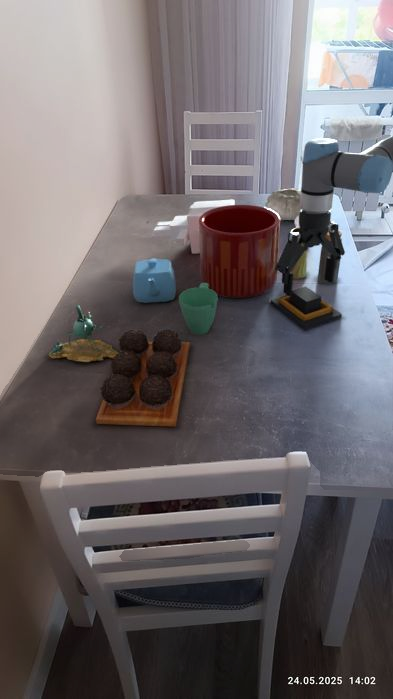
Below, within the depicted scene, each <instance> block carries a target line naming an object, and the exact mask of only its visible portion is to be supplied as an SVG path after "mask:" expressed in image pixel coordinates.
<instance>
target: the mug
mask: <svg viewBox="0 0 393 699" xmlns="http://www.w3.org/2000/svg"><path fill="white" fill-rule="evenodd" d="M218 296H219V295H217V294H216V292H215V291H213V290H211V289H210V287H209V284H207V283H202V282H201V283H200V284H199V287H191V288H188V289H186V290H185V289H184V290H183V291H182V292H181V293H180V294H179V295H178V303H179V306H180V309H181V313H182V315H183V318H184V321H185V323H186V325H187V327H188V329H189V331H190V333H192V334H193V335H196V336H202V335H205V334H207V333H208V332H209V331H210V329H211V326H212V323H213V321H214V318H215V314H216V311H217V305H218V301H219V299H218Z"/></svg>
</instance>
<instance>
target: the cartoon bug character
mask: <svg viewBox="0 0 393 699" xmlns="http://www.w3.org/2000/svg"><path fill="white" fill-rule="evenodd" d="M75 310H76V312H77V314H78V317H77V318H76V320H75V321H74V323H73V332H72V331H69V332H67V333H66V334H65V335H66V336H68V342H64V343H62V342H59V340H58V339H56V344H55V343H54V344H53V347H52V349H50V352H49V354H48V356H49V358H51V359H62V358H63V359H64V358H66V359H67V360H71V361H74V362H75V361H76V362H81V363H82V362H83V363H90V362H96V361H97V362H99V361H103V360H104V358H110V359H113V358H114V356H116V354H118V353H119V352H120V351H119V352H118V351H117V350H116V349H113V346H112V345H111V344H108V343H106V342H104V341H101V339H99V340H98V339H95V340H92V339H90V338H89V337H91V336H92V335H93V334H94V332H95V329H96V328H97V329H99V330H101V329H102V328H104V324H100V325H98V326H97V324H94V323H93V321H92V319H93V316H92V315H91V312H90V311H88V312H87V316H86V315H84V313H83V312H82V309H81V307H80V305H75ZM71 336H74V337H73V341H71ZM77 338H80V339H78V340H76V339H77Z"/></svg>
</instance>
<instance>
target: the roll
mask: <svg viewBox="0 0 393 699" xmlns="http://www.w3.org/2000/svg"><path fill="white" fill-rule="evenodd" d="M293 221H294V226H295V228H300V226H299V215H298V216H297V217H296V218H295V220H293Z"/></svg>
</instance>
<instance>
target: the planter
mask: <svg viewBox="0 0 393 699" xmlns="http://www.w3.org/2000/svg"><path fill="white" fill-rule="evenodd" d="M280 231H281V220H280V217H279V215H278V214H277V213H275V212H274V211H272V210H270V209H267V208H265V206H264V207H263V206H259V205H252V204H234V205H228V206H222V207H217V208H214V209H211V210H209V211H207V212H205V213H203V214H202V215H201V216H200V218H199V246H200V253H199V267H200V270H199V271H200V282H201V283H207V284H209V287H210V289H211V290H213V291H215V292H216V294H217V295H218V296H220V297H224V298H228V299H247V298H253V297H256V296H260V295H261V296H262V295H263V294H265V293H267V292H270V290H271V289H273V288H274V286H275V285H276V283H277V279H278V271H277V270H276V265H277V263H278V261H279V253H280V252H279V251H280V250H279V249H280V234H281V232H280Z"/></svg>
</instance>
